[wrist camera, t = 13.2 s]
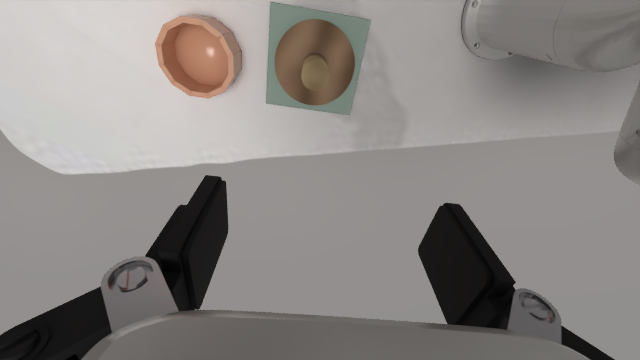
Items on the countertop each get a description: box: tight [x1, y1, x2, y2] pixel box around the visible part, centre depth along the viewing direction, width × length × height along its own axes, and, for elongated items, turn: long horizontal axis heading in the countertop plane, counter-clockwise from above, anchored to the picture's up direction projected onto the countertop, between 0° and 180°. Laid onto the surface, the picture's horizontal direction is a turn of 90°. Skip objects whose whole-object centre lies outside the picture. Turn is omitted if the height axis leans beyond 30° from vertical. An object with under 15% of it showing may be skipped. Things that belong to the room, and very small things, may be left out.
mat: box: [266, 2, 371, 115], centre depth 41 cm, size 14×14×1 cm
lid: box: [275, 19, 355, 105], centre depth 38 cm, size 12×12×8 cm
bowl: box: [155, 14, 242, 98], centre depth 38 cm, size 10×10×5 cm
